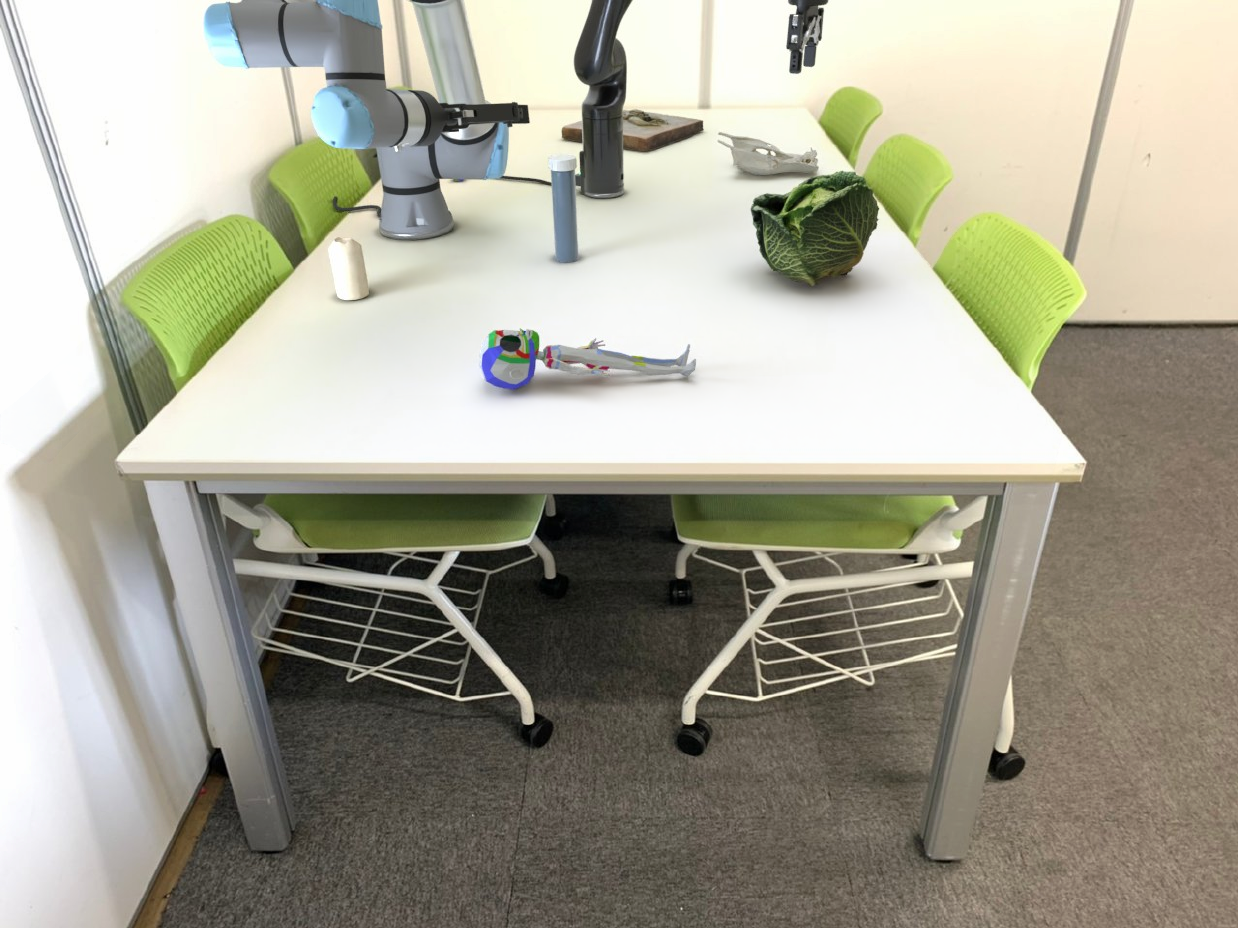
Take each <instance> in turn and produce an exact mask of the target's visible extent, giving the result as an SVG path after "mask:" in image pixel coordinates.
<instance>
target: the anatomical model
mask: <svg viewBox="0 0 1238 928" xmlns="http://www.w3.org/2000/svg"><path fill="white" fill-rule="evenodd" d="M717 134H718V136H723V137H726V138H728V139H730V140H731V142H732V145H730V144H728V143H726V142H725V141H723V140H720V139H717V140H716V142H717V143H719V144H721V145H723V146H725V147H727V148H729V150H730V153H731V156H732V164H733V165H732V166H734V167H737V170H738V171H740V172H748V173H749V174H751V175H754V176H771V175H777V174H781V173H803V174H809V173H814V172H817V171H819V169H820V167H819V165H818V163H819V158H817V156H818V152H817V150H816V149H813V148H812V146H810V151H806V152H804V153H803V154H800V153H799V154H798V153H788V152H784V151H782V150H780V148H779V147H777V146H776V145H774V144H772V143H769V142H767V141H765V140H761V139H758V138H753V137H749V136H739V135H733V134H729V133H725V132H723V131H718V133H717ZM758 150H765V151H767V153H766V154H764V153H762V152H760V151H758ZM771 152H773V153H774V155H773V154H772V153H771Z"/></svg>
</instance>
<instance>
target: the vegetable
mask: <svg viewBox="0 0 1238 928" xmlns="http://www.w3.org/2000/svg"><path fill="white" fill-rule="evenodd" d="M856 172H857V171H844V170H840V171H835V172H833V173H832V174H821V175H817V176H812V177H809V178H808V179H805V180H804V181H802V182H801V183H799V184H798V185H797V186H794V187H793V188H792V189H791V190H790V191H789V192H787V193H784V194H779V193H769V192H766V193H764V194H761V195H759V196H756V197H754V199H753V200H752V204H751V207H750V208H749V209H750V213H751V217H752V225H753V226H754V228H755V229H756V232H755V236H756V238H757V244H758V246H759V253H760V255H761V257H762V258H763V259H764V260H765V262H766V264H767V265H768V267H769V268H770V269H771V270H772V271H773V272H779V273H780V274H781V275H782V276H783V277H786V278H788V279H789V280H791V281H795V282H797V283H806V284H809V285H810V286H811V287H814V286H815V285H819V282H818V280H820V279H822V278H826V277H827V278H828V277H833V278H837V277H838V276H848V273H850V272H852V270H853V269H854V267H855V266H857V265H858V264H859V263H860V262H861V261H862V259H863V256H864V254H865V253H864V252H865V250H866V248H867V246H868V243H869V241H870V237H871V236H872V233H873V232H874V231H875V230H876V229H877V227H878V221H879V219H880V218H878V216H879V210H880V207H879V205H878V201H877V199H876V198H875V196H874V191H873V190H872V187H869V186H868V184H867V180H866V179H865V177H864V176H861V175H859V174H857V173H856Z"/></svg>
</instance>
